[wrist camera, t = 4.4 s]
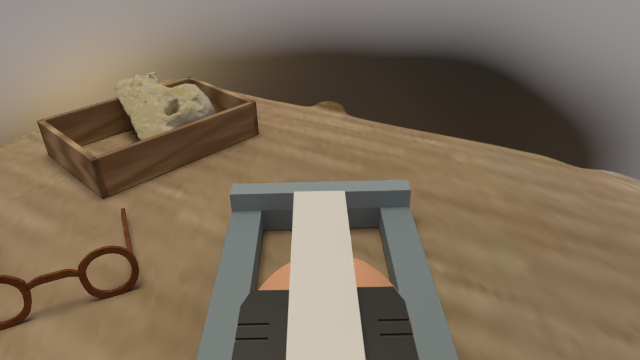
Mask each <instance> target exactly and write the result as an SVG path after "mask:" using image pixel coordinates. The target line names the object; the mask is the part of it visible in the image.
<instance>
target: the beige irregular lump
mask: <svg viewBox="0 0 640 360" xmlns="http://www.w3.org/2000/svg"><path fill="white" fill-rule="evenodd" d="M153 74H156V73H155V72H152V73H149V74H148V75H145V76H140V75H138V74H137V75H136V76H135V77H134V78H130V79H124V80H121V81H119V82H118V83H116V84H115V91H116V96H117V98H118V99H119V100H120V103H121V104H122V105H123V107H124V110H125V111H126V113H127V115H128V116H130V119H131V123H132V125H133V127H134V129H135V132H136V133H137V134H138V135H137V136H138V138H139V139H140V140H144V139H146V138H149V137H152V136H155V135H158V134H160V133H163V132H166V131H169V130H172V129H174V128H177V127H180V126H183V125H185V124H188V123H191V122H194V121H197V120H199V119H202V118H205V117H208V116H211V115H213V114H215V110H214V108H213V106H212V104H211V102H210V100H209V98H208V97H207V96H206V95H205V94H204V93H203V92H202V91H201V90H200V89H199V88H198V87H197V86H196V85H195V84H186V83H185V84H182V85H178V86H175V87H173V88H169V87H166V86H163V85H161V84H159V80H158V78H156V77H155V76H154V75H153Z"/></svg>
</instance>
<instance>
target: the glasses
mask: <svg viewBox="0 0 640 360" xmlns="http://www.w3.org/2000/svg"><path fill="white" fill-rule="evenodd" d="M121 216H122V221H123V228H124V234H125V239H126V245H127V249H126V248H123V247H120V246H106V247H102V248H99V249H96V250H94V251H92V252H90V253H89V254H88V255H86V257H85V258H84V259H83V260H82V261H81V262H80V264H79V266H78V270H74V269H64V270H60V271H56V272H52V273H49V274H45V275H41V276H38V277H36V278H34V279H33V280H31V281H30V282H29V283H28V284H27V283H26V282H25V281H24V280H22V279H20V278H16V277H13V276H7V275H0V283H2V284H9V285H12V286H14V287H16V288H18V289H19V290H20V292H21V293H22V295H23V299H24V308H23V310H22V311H21V312H20V313H19V314H18V315H17V316H16V317H14V318H12V319H10V320H7V321H3V322H0V330H4V329H7V328H10V327H13V326H15V325H17V324H19V323H20V322H22V321H23V320H24V319H25V318H26V317H27V316H28V315H29V313H30V311H31V304H32V299H31V292H30V289H32V288H34V287H35V286H37V285H40V284H43V283H47V282H51V281H54V280H58V279H62V278H65V277H79V279H80V281H81V283H82V285H83V287H84V288H85V290H86V291H87V292H88V293H89V294H91V295H92V296H95V297H98V298H110V297H114V296H117V295H120V294H123V293H125V292H127V291H128V290H129V289H131V288H132V287H133V286H134V285H135V283H136V281H137V279H138V275H139V268H138V263H137V260H136V258H135V256H134V255H133V252H132V247H131V241H130V236H129V231H128V226H127V221H126V213H125V208H123V209H121ZM109 253H115V254H120V255H123V256H124V257H126V258H127V259H128V260H129V262H130V264H131V266H132V274H131V277H130V279H129V280H128V281H127V283H125V284H124V285H123V286H121V287H119V288H116V289H113V290H99V289H96V288H95V287H93V286H92V285H91V284H90V282H89V281H88V278H87V276H86V269H87V267H88V265H89V264H90V262H91V261H92V260H94V259H95V258H97V257H99V256H101V255H104V254H109Z"/></svg>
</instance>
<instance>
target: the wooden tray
mask: <svg viewBox="0 0 640 360" xmlns="http://www.w3.org/2000/svg"><path fill="white" fill-rule="evenodd" d="M185 83H186V84H195V85H196V86H197V87H198V88H199V89H200V90H201V91H202V92H203V93H204V94H205V95H206V96H207V97H208V98H209V100H210V102H211V104H212V106H213V108H214V110H215V114H213V115H211V116H208V117H205V118H202V119H199V120H197V121H194V122H191V123H188V124H185V125H183V126H180V127H177V128H174V129H172V130H169V131H166V132H163V133H160V134H158V135H155V136H152V137H149V138H146V139H144V140H141V141H138V142H135V143H132V144H130V145H127V146H124V147H121V148H118V149H116V150H113V151H110V152H107V153H104V154H102V155H99V156H96V157H95V156H93V155H92V154H91V153H89V152H88V151H86V150H85V149H84V148H82V147H81V146H83V145H86V144H89V143H92V142H95V141H97V140H100V139H103V138H106V137H109V136H112V135H115V134H118V133H121V132H124V131H127V130H130V129H133V128H134V127H133V125H132V123H131V119H130V116H128V115H127V113H126V111H125V110H124V107H123V105H122V104H121V103H120V100H119V99H118V98H114V99H111V100H107V101H104V102H100V103H97V104H94V105H90V106H87V107H84V108H80V109H76V110H73V111H70V112H66V113H62V114H59V115H55V116H52V117H49V118H46V119H42V120H38V121H37V123H38V126H39V128H40V131H41V134H42V137H43V140H44V143H45V146H46V149H47V152H48V155H49V156H51V157H52V158H53V159H54V160H56V161H57V162H58V163H59V164H61V165H62V166H63V167H64V168H65V169H67V170H68V171H69V172H70V173H72V174H73V175H74V176H75V177H77V178H78V179H79V180H80V181H81V182H83V183H84V184H85V185H86V186H88V187H89V188H90V189H91V190H93V191H94V192H95V193H96V194H97V195H99V196H100V197H101V198H102V199H104V198H107V197H109V196H111V195H114V194H116V193H119V192H121V191H123V190H126V189H128V188H131V187H133V186H135V185H138V184H140V183H143V182H145V181H147V180H150V179H152V178H155V177H157V176H159V175H162V174H164V173H167V172H169V171H171V170H174V169H176V168H179V167H181V166H183V165H186V164H188V163H191V162H193V161H195V160H198V159H200V158H203V157H205V156H207V155H210V154H212V153H215V152H217V151H219V150H222V149H224V148H227V147H229V146H231V145H234V144H236V143H239V142H241V141H243V140H246V139H248V138H251V137H253V136H255V135H258V134H259V132H258V121H257V110H256V102H255V101H253V100H250V99H247V98H245V97H242V96H240V95H237V94H234V93H232V92H229V91H227V90H224V89H221V88H219V87H216V86H214V85H211V84H208V83H205V82H203V81H200V80H198V79H195V78H192V77H187V78H183V79H180V80H177V81H173V82H170V83H166V84H163V86H166V87H169V88H173V87H175V86H178V85H182V84H185Z"/></svg>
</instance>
